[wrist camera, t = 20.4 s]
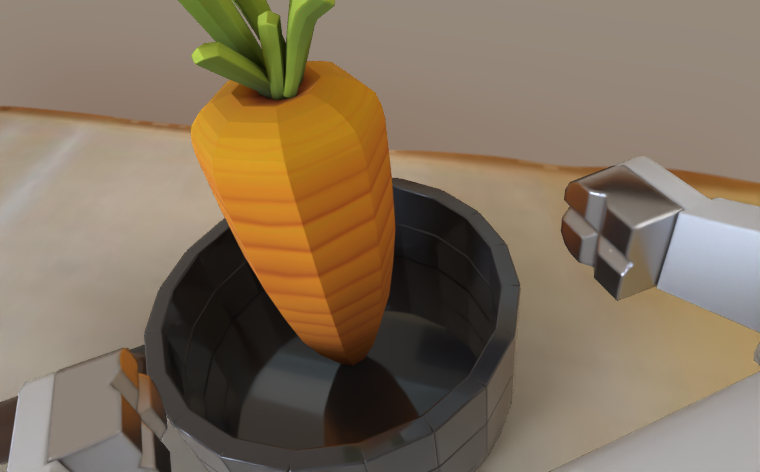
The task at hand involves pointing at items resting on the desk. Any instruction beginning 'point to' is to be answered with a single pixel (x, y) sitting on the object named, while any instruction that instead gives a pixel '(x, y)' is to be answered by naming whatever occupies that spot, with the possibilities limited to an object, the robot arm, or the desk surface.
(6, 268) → the desk surface
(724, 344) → the desk surface
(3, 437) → the pan handle
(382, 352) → the pan
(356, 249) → the carrot
